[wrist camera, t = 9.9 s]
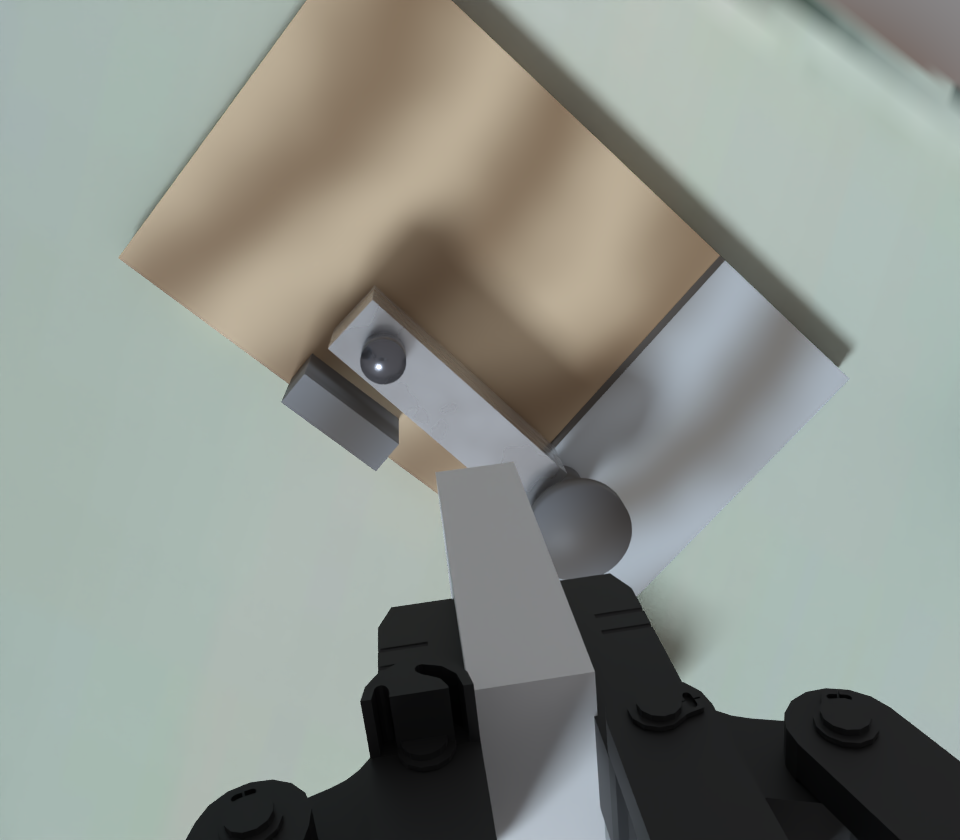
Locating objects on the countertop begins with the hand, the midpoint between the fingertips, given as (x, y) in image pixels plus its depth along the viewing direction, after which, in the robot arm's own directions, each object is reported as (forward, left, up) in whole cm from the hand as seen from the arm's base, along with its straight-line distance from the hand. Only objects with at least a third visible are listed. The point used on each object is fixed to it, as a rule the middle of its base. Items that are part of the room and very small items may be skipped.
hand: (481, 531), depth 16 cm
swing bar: (+2, -2, -18) cm, 19 cm away
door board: (+2, +2, -20) cm, 20 cm away
